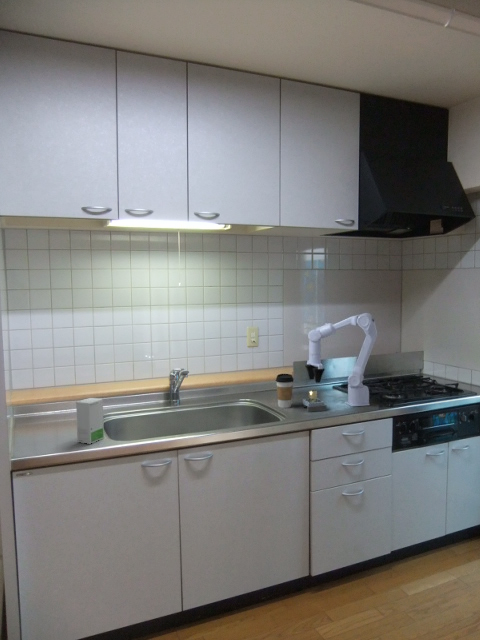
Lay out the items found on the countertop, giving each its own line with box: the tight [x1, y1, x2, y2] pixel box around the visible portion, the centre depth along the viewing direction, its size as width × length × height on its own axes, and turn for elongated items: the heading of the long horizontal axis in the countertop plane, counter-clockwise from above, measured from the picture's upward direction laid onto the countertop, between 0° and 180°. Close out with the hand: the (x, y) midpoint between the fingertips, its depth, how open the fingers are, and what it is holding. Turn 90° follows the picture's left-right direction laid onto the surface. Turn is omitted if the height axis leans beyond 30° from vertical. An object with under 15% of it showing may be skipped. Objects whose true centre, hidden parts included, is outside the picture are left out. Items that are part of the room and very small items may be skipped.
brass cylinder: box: [308, 389, 318, 403], centre depth 224 cm, size 4×4×6 cm
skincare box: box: [75, 397, 105, 445], centre depth 182 cm, size 8×7×16 cm
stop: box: [306, 404, 327, 413], centre depth 220 cm, size 9×1×2 cm, turn 105°
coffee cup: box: [275, 373, 294, 409], centre depth 228 cm, size 8×8×15 cm
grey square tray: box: [302, 397, 325, 408], centre depth 224 cm, size 8×8×4 cm
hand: (314, 380), depth 238 cm, fingers open, 7 cm apart
